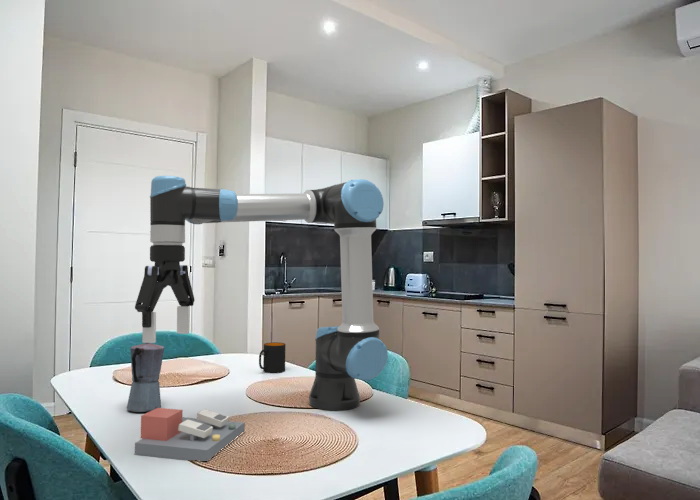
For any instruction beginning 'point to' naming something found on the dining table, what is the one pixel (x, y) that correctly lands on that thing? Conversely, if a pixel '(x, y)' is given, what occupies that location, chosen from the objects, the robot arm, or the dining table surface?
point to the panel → (191, 443)
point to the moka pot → (145, 377)
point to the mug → (273, 358)
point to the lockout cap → (161, 424)
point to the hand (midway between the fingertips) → (166, 337)
